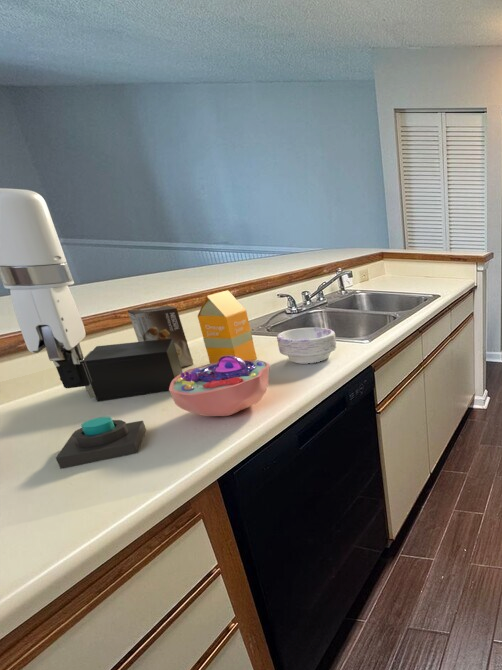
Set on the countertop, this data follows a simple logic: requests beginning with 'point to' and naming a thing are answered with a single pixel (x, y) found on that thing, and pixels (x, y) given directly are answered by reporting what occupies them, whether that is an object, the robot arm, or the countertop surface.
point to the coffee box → (161, 328)
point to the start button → (97, 425)
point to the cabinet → (132, 368)
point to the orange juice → (225, 327)
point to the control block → (102, 444)
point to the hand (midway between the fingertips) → (78, 385)
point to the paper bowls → (307, 344)
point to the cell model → (221, 386)
